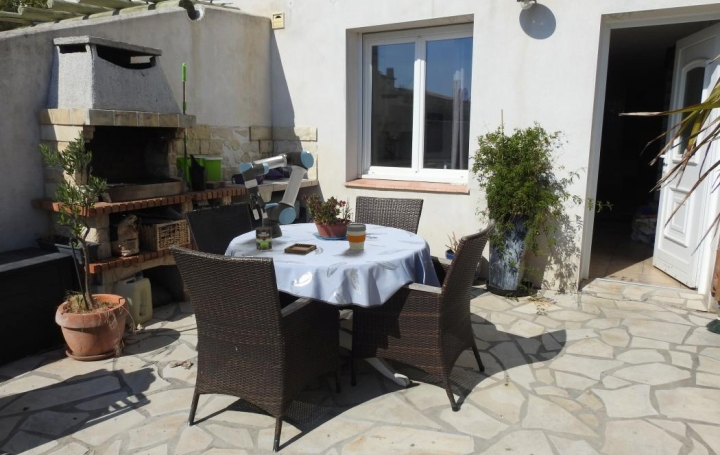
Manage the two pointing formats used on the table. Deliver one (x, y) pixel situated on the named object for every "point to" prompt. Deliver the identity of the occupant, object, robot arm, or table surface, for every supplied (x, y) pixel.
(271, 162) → the robot arm
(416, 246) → the table surface
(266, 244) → the coffee can
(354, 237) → the reusable coffee cup
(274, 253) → the table surface
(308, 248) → the wooden tray
